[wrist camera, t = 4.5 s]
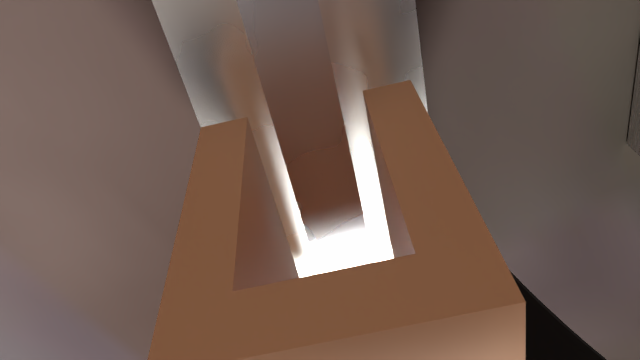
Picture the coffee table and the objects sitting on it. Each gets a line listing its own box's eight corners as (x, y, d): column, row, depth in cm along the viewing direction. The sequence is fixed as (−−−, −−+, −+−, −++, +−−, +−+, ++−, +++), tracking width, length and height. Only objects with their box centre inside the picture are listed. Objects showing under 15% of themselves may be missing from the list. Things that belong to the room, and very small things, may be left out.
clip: (410, 79, 10) (525, 301, 5) (442, 327, 14) (524, 577, 9) (200, 127, 10) (142, 378, 6) (290, 358, 14) (298, 615, 10)
